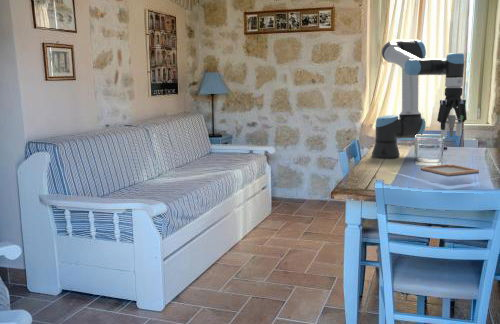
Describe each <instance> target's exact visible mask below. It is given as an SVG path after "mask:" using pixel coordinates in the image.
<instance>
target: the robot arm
mask: <svg viewBox="0 0 500 324" xmlns="http://www.w3.org/2000/svg"><path fill="white" fill-rule="evenodd" d="M426 53H427V52H426V47H425V44H424V43H423V41H422V40H419V39H393V40H390V41H388V42H386V43H385V44H384V46H383V47H382V49H381V56H382V58H383V59H384V60H385V61H386V62H388V63H391V64H392V63H393V64H396V65H397V66H399V67H400V68H401V82H402V83H401V112H400V113H399V114H398V115H397V114H391V115H389V114H388V115H382V116H379V117H377V118H376V119H375V141H374V146H373V150H372V152H371V157H372V158H373V159H381V160H396V159H399V158H400V156H401V155H400V150H399V147H398V139H414V138H415V135H416V134H421V135H422V136H423V134H424V132H425V130H426V126H427V125H426V119H425V118H424V117H423V116H422V113H421V112H420V111H419V76H443V75H445V82H444V87H445V88H444V97H445V98H444V99H441V100H439V108H438V114H437V118H436V120H437V122H438V123H440V130H441V131H440V138H447V137H448V135H447V134H448V124H447V123H446V121H447V120H448V115H450V112H451V111H452V109H453V110H454V113H455V117H456V119H460V118H459V117H460V115H462V116H464V119H462V123H460V124H455V136H456V137H457V136H458V137H461V136H462V129H463V125H464V124H463V123H465V122H466V121H467V119H468V118H467V107H466V102H467V99H465V98H464V99H463V98H461V97H462V96H463V85H464V71H465V69H464V68H465V55H464V53H462V52H451V53H447V54H446V56H445V57H446V58H426V55H427V54H426ZM457 122H460V120H457Z"/></svg>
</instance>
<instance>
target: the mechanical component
mask: <svg viewBox="0 0 500 324" xmlns="http://www.w3.org/2000/svg"><path fill="white" fill-rule="evenodd" d="M459 118H460V119H457V116H456V114H455V115H453V114H449V115H448V118H447V120H446V123H447V125H448V128H449V137H450V138H453V137H454V128H456V124H460V123H462V119H464V116H462V115H460V117H459ZM458 120H460V122H458Z"/></svg>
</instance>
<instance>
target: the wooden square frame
mask: <svg viewBox="0 0 500 324" xmlns="http://www.w3.org/2000/svg"><path fill="white" fill-rule="evenodd" d="M421 169H422V170H421ZM420 170H421V171H424V170H425V171H426V172H429V173H434V174H438V175H442V176H446V177H447V176H448V177H451V176H458V175H459V176H460V175H469V174H479V171H480V170H479V169H477V168H471V167H467V166H462V165H456V164H452V163H451V164H450V163H448V164H447V163H446V164H437V165H428V166H427V165H425V166H420Z"/></svg>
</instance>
